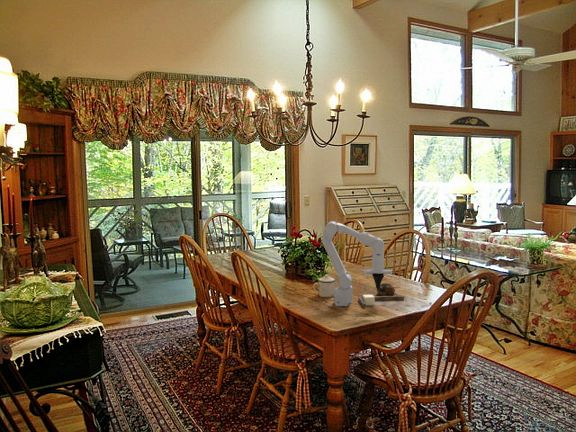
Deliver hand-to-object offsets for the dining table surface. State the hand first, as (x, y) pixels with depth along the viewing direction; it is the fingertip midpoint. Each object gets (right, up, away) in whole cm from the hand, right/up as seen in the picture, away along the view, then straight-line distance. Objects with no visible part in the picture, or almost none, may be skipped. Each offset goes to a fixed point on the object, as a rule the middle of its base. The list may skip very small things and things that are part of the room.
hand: (377, 287), depth 248 cm
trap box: (+4, -9, -1) cm, 10 cm away
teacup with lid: (-26, -8, +21) cm, 34 cm away
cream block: (-5, -8, -1) cm, 9 cm away
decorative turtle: (+7, -8, +16) cm, 19 cm away
